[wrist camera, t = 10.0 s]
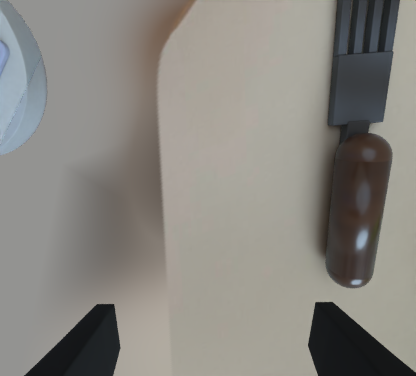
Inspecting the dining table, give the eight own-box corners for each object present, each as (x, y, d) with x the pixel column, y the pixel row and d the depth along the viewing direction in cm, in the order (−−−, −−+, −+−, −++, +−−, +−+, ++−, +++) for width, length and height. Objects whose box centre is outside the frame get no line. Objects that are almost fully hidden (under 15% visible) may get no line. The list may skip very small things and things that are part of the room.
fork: (355, 268, 19) (381, 296, 16) (315, 271, 19) (335, 299, 16) (399, -49, 13) (455, -96, 10) (341, -45, 13) (379, -90, 10)
